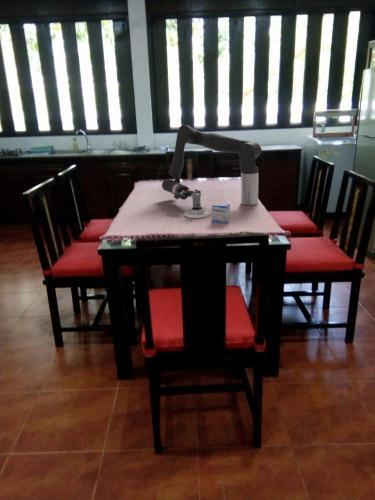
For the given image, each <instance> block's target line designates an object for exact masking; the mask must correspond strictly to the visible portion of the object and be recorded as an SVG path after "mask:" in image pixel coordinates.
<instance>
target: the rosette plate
mask: <svg viewBox="0 0 375 500" xmlns="http://www.w3.org/2000/svg"><path fill="white" fill-rule="evenodd" d="M183 216H184V217H185V218H187V217H188V219H195V218H196V219H203V218H207V217H210V216H212V211H210V210H207V209H206V208H205V207H204V206H201V209H200V210H193V206H192V207H189V210H187V211H185V212H184V213H183Z"/></svg>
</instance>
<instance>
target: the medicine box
mask: <svg viewBox="0 0 375 500" xmlns="http://www.w3.org/2000/svg"><path fill="white" fill-rule="evenodd" d="M230 206H231V205H230V203H213V204H211V223H214V224H228V223H229V222H230V221H231V218H230V217H231V214H230V213H231V210H230V209H231V208H230Z"/></svg>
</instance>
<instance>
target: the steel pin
mask: <svg viewBox="0 0 375 500" xmlns="http://www.w3.org/2000/svg"><path fill="white" fill-rule="evenodd" d="M191 198H192V207H193V210H200V209H201V207H202V205H201V197H200V194H199V193H194V194H192V197H191Z"/></svg>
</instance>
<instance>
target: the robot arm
mask: <svg viewBox="0 0 375 500" xmlns="http://www.w3.org/2000/svg"><path fill="white" fill-rule="evenodd" d="M186 144H188V145H197V146H202V147H204V148H207V149H210V150H212V151H217V152H220V153H233V154H238V159H239V161H238V162H239V168H240V179H241V180H240V194H241V195H240V201H241V202H240V204H241V205H243V206H256V205H258V204H259V167H258V166H257V165H256V159H257V158H259V156H260V155H261V153H262V147H261V145H260V144H259V143H258V142H256V141H252V140H251V141H250V140H242V139H238V138H234V137H233V136H232V137H231V136H228V135H225V134H220V133H215V132H207V133H206V132H202V131H199V130H197V129H195V128H193V127H192V126H190V125H188V124H181V126H179V127H178V130H177V134H176V139H175V146H174V152H173V156H172V162H171V164H170V168H169V171H168V173H169V175H170V176H172V177H173V179H170V178H166V179H164V180H163V181H162V184H161V187H162V190H164V191H165V192H168V193H171V194H172V195H173V198H174V199H175V200H179V199H180V200H183V201H185V200H186V199H188V198H193V197H192V194H194V193H199V194H200V198H201V193H202V192H201V190H198V189H197V188H196V189H194V190H193V189H192V190H191V189H190V188H189V187H188V186H187V185H185V184H182V183H181V175H182V171H183V169H184V164H185V146H186Z"/></svg>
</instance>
